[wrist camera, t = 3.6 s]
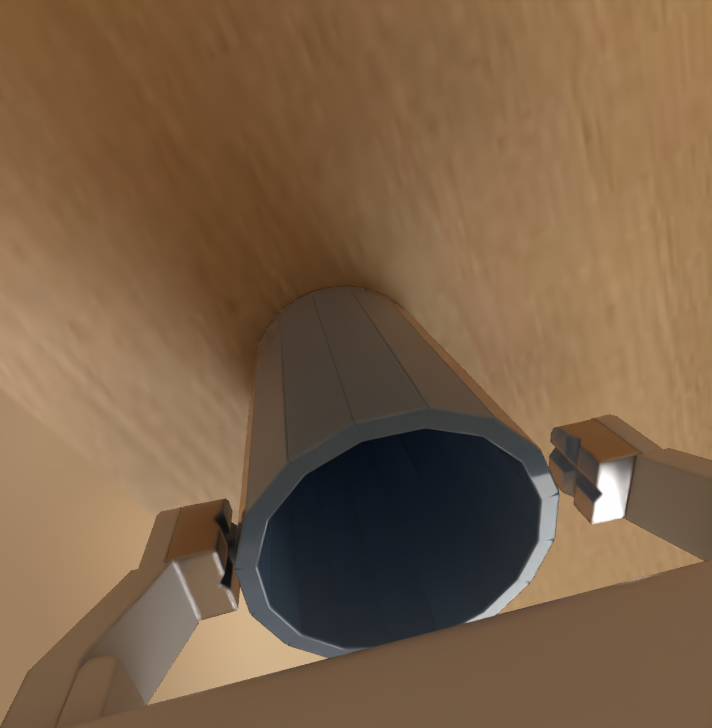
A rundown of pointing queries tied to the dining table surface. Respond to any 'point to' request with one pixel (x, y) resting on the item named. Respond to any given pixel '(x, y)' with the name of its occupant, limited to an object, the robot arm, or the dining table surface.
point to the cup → (380, 482)
